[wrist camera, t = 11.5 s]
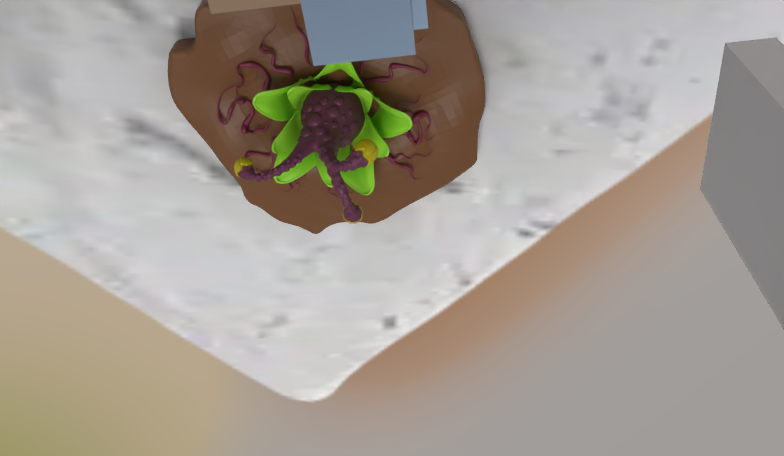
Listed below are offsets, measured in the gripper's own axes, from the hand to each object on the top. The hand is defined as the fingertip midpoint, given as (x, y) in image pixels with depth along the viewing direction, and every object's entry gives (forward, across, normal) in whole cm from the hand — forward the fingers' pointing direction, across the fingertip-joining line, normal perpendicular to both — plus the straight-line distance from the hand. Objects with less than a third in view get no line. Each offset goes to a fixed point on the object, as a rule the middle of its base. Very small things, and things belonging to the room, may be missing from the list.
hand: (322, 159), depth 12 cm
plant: (+35, -4, -16) cm, 39 cm away
